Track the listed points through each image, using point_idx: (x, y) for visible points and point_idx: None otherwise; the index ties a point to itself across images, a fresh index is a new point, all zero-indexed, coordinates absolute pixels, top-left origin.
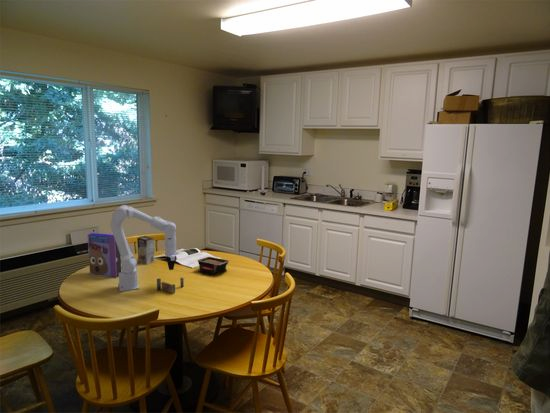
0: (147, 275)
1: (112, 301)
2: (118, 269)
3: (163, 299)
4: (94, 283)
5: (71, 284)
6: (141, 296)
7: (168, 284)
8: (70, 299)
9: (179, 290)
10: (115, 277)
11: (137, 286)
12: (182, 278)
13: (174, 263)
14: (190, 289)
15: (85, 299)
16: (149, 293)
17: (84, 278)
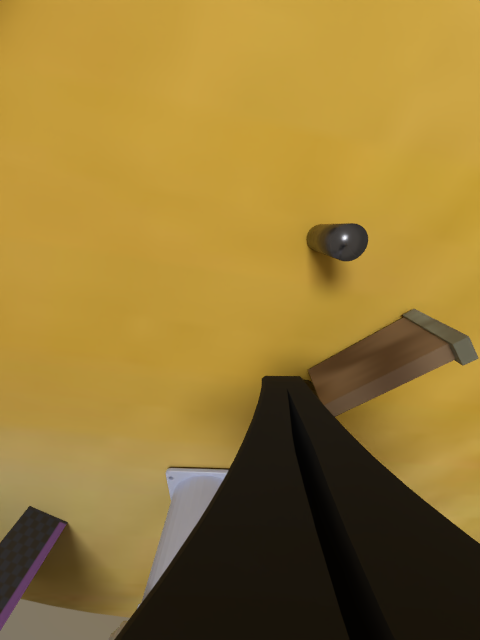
0: (38, 415)
1: None
2: (16, 560)
3: (467, 386)
4: (125, 572)
5: (123, 609)
6: None
7: (409, 379)
8: None
9: (381, 270)
10: (65, 525)
11: (220, 476)
12: (365, 237)
13: (380, 464)
14: (413, 172)
15: None
16: None
17: (67, 587)
